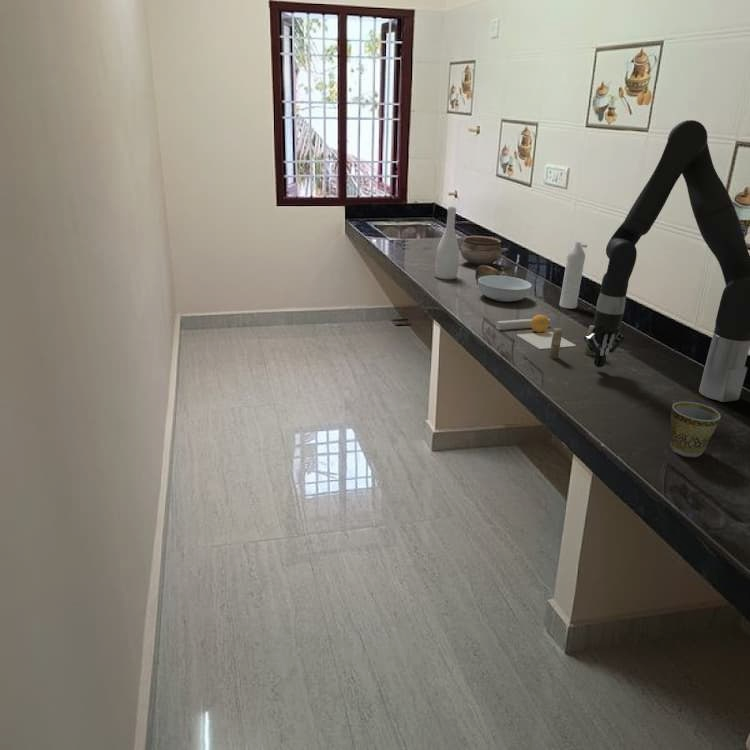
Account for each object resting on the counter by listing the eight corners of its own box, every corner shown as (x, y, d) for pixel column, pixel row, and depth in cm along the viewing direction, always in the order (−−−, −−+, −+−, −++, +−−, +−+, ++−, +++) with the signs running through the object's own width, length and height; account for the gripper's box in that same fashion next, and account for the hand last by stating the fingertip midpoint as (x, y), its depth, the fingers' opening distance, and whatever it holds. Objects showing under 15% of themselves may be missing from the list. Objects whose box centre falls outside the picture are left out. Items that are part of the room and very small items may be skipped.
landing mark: (576, 346, 217) (576, 345, 216) (539, 349, 212) (539, 348, 212) (551, 332, 229) (551, 331, 228) (516, 335, 224) (516, 334, 224)
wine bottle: (434, 274, 297) (440, 204, 286) (455, 275, 297) (462, 206, 286) (435, 279, 289) (441, 208, 277) (457, 280, 288) (464, 209, 277)
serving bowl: (505, 309, 252) (508, 291, 249) (465, 295, 267) (466, 278, 264) (540, 301, 264) (542, 284, 262) (499, 289, 279) (501, 272, 277)
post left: (559, 358, 205) (564, 330, 202) (552, 359, 204) (557, 330, 201) (554, 355, 207) (559, 327, 204) (547, 356, 207) (552, 328, 203)
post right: (594, 354, 210) (600, 327, 206) (588, 355, 209) (593, 328, 205) (589, 352, 212) (594, 324, 208) (582, 352, 211) (587, 325, 208)
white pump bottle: (556, 304, 262) (566, 240, 252) (571, 304, 263) (582, 240, 254) (566, 310, 254) (577, 244, 244) (582, 310, 255) (593, 245, 246)
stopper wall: (548, 326, 235) (550, 319, 234) (499, 330, 228) (500, 323, 227) (545, 324, 236) (546, 317, 236) (496, 328, 230) (497, 321, 229)
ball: (550, 334, 227) (553, 318, 224) (534, 336, 225) (538, 319, 222) (541, 327, 232) (544, 311, 229) (526, 328, 230) (529, 312, 227)
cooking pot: (502, 262, 327) (505, 237, 322) (508, 271, 309) (511, 245, 305) (451, 259, 327) (453, 234, 323) (454, 268, 310) (456, 241, 305)
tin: (473, 282, 288) (476, 262, 284) (480, 281, 289) (482, 262, 286) (493, 291, 275) (496, 271, 272) (500, 291, 276) (502, 270, 273)
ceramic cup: (694, 465, 147) (705, 424, 143) (653, 446, 154) (663, 407, 150) (725, 450, 154) (736, 411, 150) (684, 433, 161) (694, 395, 158)
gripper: (599, 314, 184) (588, 373, 191) (637, 312, 189) (625, 369, 195) (582, 306, 191) (572, 363, 197) (620, 304, 195) (609, 359, 202)
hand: (599, 366), depth 196 cm, fingers closed
